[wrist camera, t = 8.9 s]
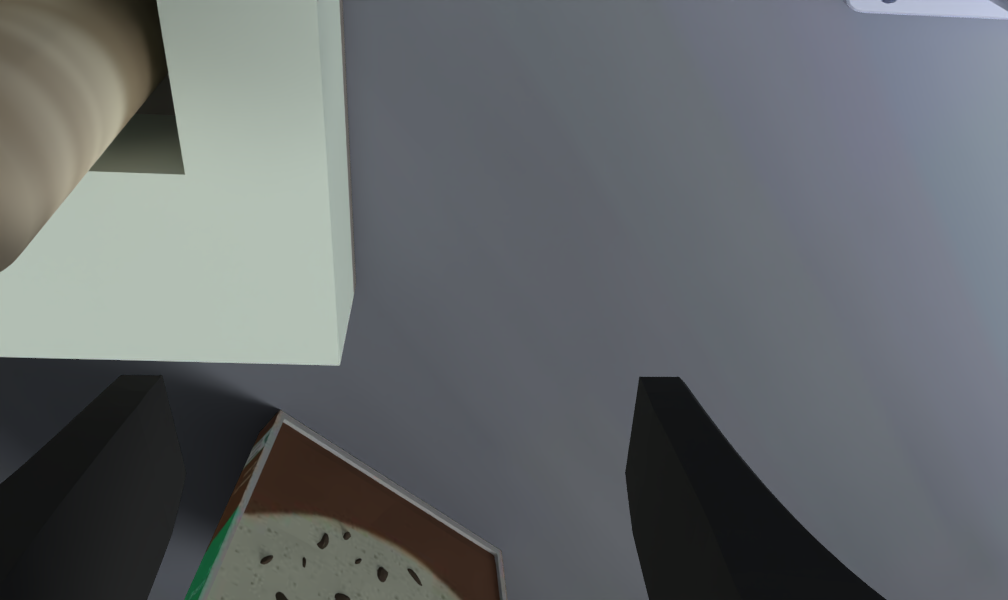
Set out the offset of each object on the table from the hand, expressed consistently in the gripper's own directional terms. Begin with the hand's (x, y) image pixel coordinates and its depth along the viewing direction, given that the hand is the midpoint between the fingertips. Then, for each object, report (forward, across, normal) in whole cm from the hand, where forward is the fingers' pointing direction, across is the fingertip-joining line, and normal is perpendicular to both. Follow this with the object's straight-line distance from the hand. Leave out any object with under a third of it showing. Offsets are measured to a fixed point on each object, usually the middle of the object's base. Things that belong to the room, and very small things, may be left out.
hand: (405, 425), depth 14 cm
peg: (+9, +7, -3) cm, 12 cm away
